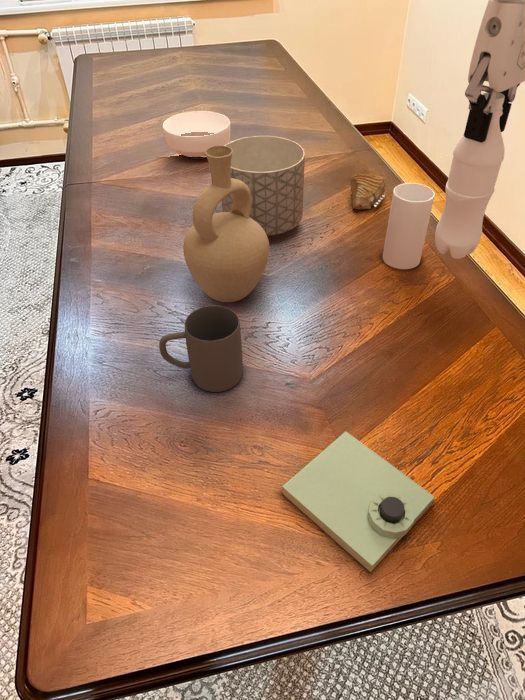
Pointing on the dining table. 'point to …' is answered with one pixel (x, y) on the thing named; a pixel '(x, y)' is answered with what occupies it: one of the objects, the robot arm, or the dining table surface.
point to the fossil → (367, 190)
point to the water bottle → (470, 188)
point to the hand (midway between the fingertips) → (484, 133)
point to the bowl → (196, 123)
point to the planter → (270, 180)
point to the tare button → (392, 509)
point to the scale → (356, 498)
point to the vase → (225, 236)
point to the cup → (407, 225)
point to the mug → (210, 348)
